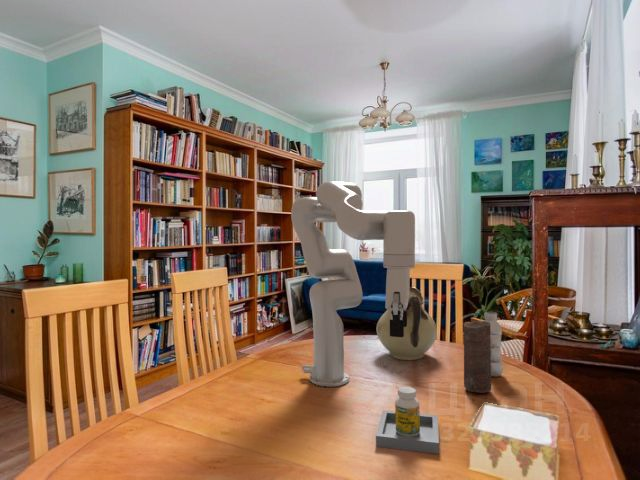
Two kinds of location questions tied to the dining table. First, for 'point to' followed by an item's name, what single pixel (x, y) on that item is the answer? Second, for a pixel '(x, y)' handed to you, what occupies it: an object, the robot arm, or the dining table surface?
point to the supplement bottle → (407, 412)
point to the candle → (477, 356)
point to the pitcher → (409, 330)
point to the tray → (419, 443)
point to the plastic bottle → (495, 343)
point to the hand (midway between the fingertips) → (398, 331)
